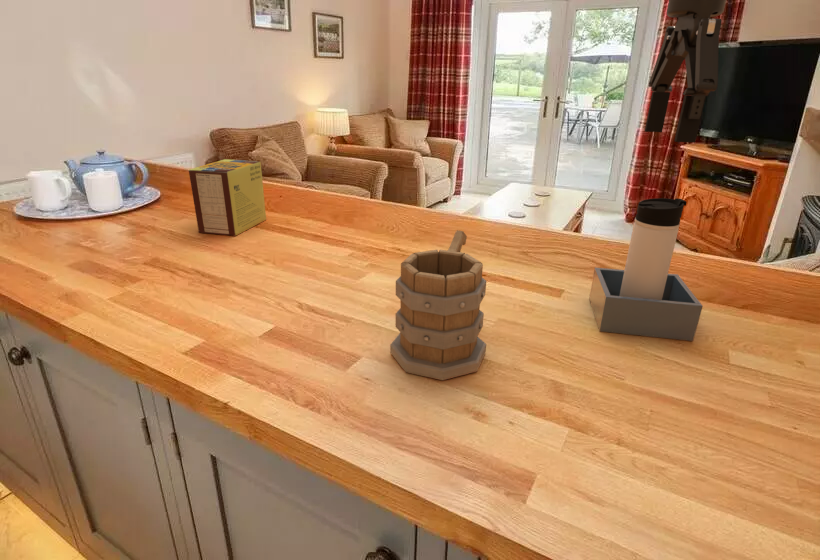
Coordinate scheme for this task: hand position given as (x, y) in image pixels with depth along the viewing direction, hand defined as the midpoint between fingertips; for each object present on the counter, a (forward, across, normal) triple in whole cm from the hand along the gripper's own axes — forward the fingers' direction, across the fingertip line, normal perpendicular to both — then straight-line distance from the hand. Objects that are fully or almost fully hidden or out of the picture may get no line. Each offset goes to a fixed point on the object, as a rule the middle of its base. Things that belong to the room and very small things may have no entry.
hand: (667, 136), depth 80 cm
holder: (+28, +10, -3) cm, 30 cm away
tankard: (+28, +22, -34) cm, 49 cm away
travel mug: (+28, +10, -3) cm, 30 cm away
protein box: (+28, -29, -90) cm, 99 cm away
